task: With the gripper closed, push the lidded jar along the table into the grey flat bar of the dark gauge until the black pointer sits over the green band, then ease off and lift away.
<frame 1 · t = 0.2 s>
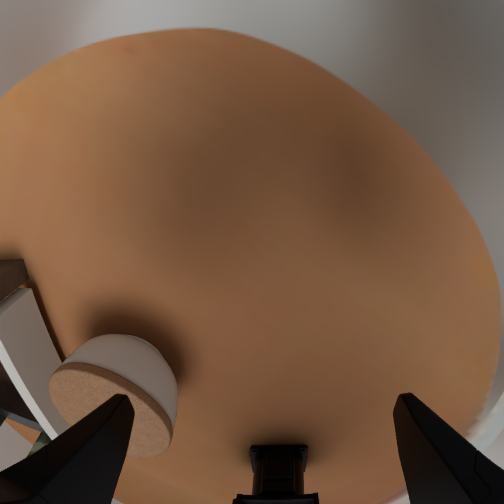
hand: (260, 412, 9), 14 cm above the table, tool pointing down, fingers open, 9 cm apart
lidded jar: (136, 358, 27), on the table
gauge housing: (16, 342, 28), on the table
grey flat bar: (34, 365, 24), point 4 cm above the table, slide at 0.0 cm
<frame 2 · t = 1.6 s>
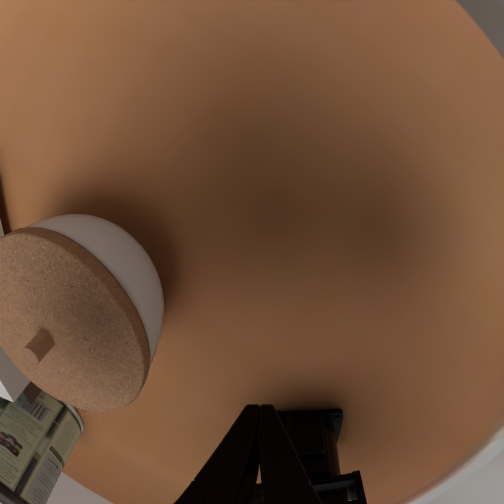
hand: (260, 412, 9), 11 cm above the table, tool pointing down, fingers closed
lidded jar: (112, 270, 20), on the table
coffee can: (48, 405, 28), on the table
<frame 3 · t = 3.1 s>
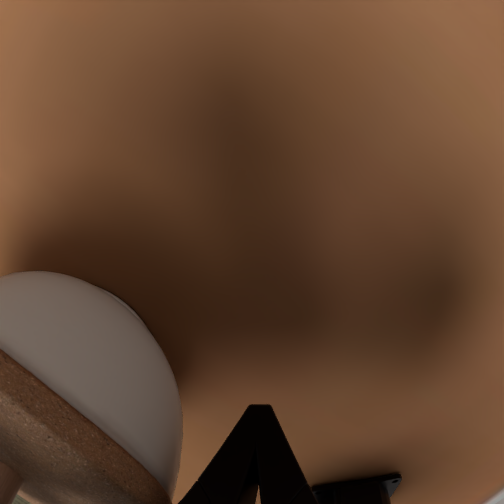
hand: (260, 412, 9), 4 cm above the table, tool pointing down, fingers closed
lidded jar: (99, 338, 13), on the table, touching gripper
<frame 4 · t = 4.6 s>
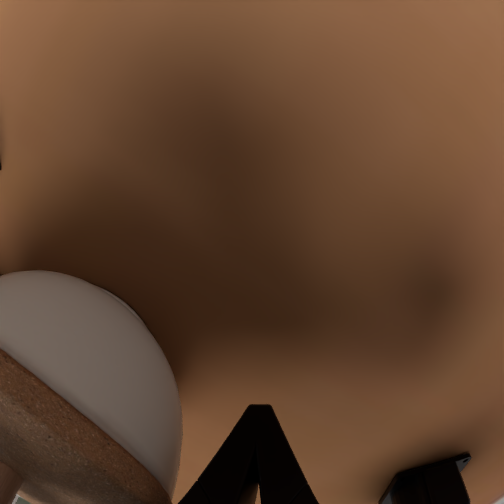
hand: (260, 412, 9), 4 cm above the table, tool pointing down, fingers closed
lidded jar: (98, 338, 13), on the table, touching gripper
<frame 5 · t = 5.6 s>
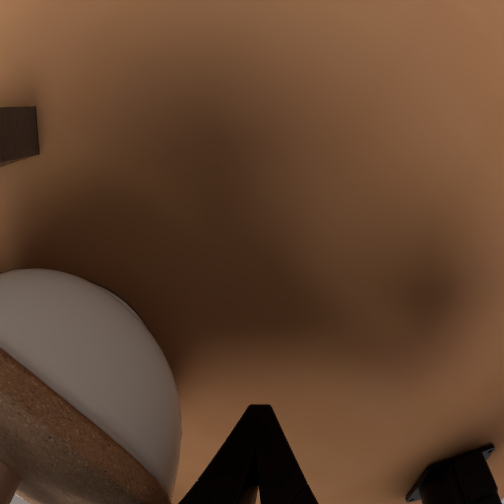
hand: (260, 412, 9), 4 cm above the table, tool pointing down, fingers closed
lidded jar: (97, 337, 13), on the table, touching gripper
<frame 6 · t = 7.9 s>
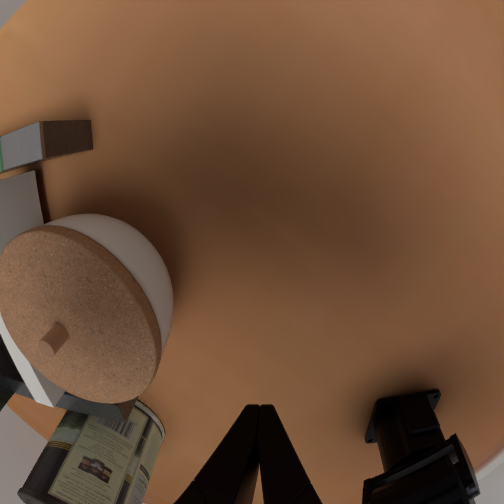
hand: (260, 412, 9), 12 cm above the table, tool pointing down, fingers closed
lidded jar: (122, 269, 21), on the table
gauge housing: (44, 270, 22), on the table
grey flat bar: (20, 280, 17), point 4 cm above the table, slide at 5.7 cm
coffee can: (120, 417, 28), on the table
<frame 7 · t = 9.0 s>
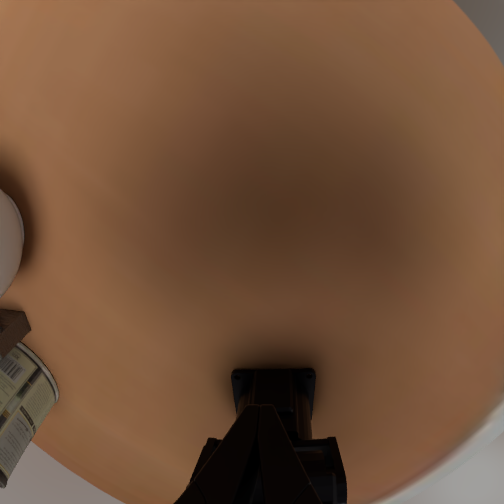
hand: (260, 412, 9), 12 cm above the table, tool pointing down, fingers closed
lidded jar: (3, 224, 21), on the table
coffee can: (26, 370, 28), on the table
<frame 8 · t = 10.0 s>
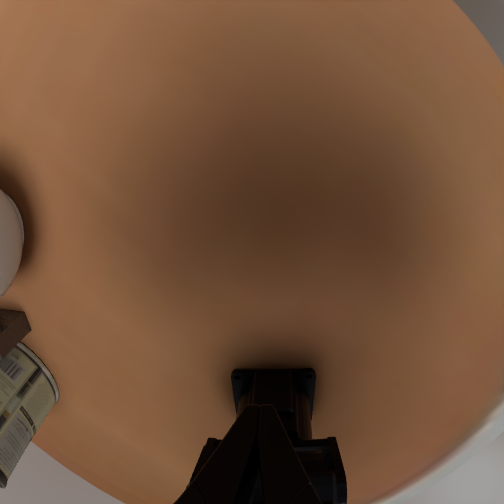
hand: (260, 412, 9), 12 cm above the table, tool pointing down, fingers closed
lidded jar: (3, 225, 21), on the table
coffee can: (26, 371, 28), on the table
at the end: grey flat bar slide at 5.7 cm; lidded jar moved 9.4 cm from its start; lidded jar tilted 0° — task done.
